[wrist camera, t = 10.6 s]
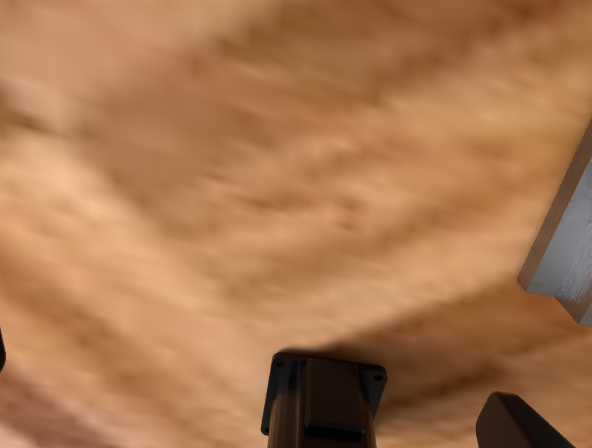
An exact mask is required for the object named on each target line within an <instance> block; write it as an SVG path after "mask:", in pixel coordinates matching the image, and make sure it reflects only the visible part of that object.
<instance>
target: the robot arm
mask: <svg viewBox="0 0 592 448" xmlns="http://www.w3.org/2000/svg"><path fill="white" fill-rule="evenodd" d="M5 361H6V352H5V347H4V342H3V338H2V333H1V329H0V372H1V371H2V369H3V367H4V364H5ZM278 361H283V362H278ZM376 375H379V376H376ZM386 381H387V373H386V370H385V369H384V368H383V367H381V366H375V365H368V364H361V363H354V362H347V361H340V360H333V359H326V358H319V357H312V356H305V355H298V354H290V353H283V352H278V353H276V354H274V355H273V357H272V363H271V369H270V375H269V381H268V387H267V393H266V399H265V405H264V411H263V418H262V424H261V432H262V433H263V434H264V435H267V436H269V438H268V447H267V448H377V446H376V439H375V432H374V425H373V420H374V417H375V414H376V411H377V408H378V405H379V402H380V399H381V396H382V393H383V390H384V387H385V384H386ZM476 436H477V441H478V446H479V448H576V447H574V446H573V445H572V444H571V443H570V442H569V441H568V440H567V439H566V438H565V437H563V436H562V435H561V434H560V433H559V432H558V431H557V430H556V429H555V428H553V427H552V426H551V425H550V424H549V423H548V422H547V421H546V420H545V419H544V418H542V417H541V416H540V415H539V414H538V413H537V412H536V411H535V410H534V409H533V408H531V407H530V406H529V405H528V404H527V403H526V402H525V401H524V400H523V399H521V398H520V397H519V396H518V395H516V394H513V393H506V392H499V391H495V392H492V393H491V394H490V395H489V397H488V399H487V401H486V403H485V405H484V407H483V409H482V411H481V413H480V415H479V417H478V419H477V422H476Z"/></svg>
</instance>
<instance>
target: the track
mask: <svg viewBox="0 0 592 448" xmlns="http://www.w3.org/2000/svg"><path fill="white" fill-rule="evenodd" d="M517 282H518V283H519V284H520V286H521V287H522V288H523V289H524V291H525V292H526V293H533V294H540V295H546V296H553V297H555V298H556V299H557V300H558V301H559V302H560V304H561V305H562V306H563V307H564V308H565V309H566V310H567V312H568V313H569V314H570V315H571V316H572V317H573V319H574V320H575V321H576V322H577V323H578V324H579V325H584V326H591V327H592V119H591V121H590V123H589V125H588V128H587V130H586V132H585V134H584V136H583V138H582V140H581V143H580V145H579V147H578V149H577V151H576V153H575V156H574V158H573V160H572V162H571V164H570V166H569V169H568V171H567V173H566V175H565V177H564V179H563V181H562V184H561V186H560V188H559V190H558V192H557V194H556V197H555V199H554V201H553V203H552V205H551V207H550V210H549V212H548V214H547V216H546V218H545V220H544V223H543V225H542V227H541V229H540V231H539V233H538V235H537V238H536V240H535V242H534V244H533V246H532V248H531V251H530V253H529V255H528V257H527V259H526V261H525V264H524V266H523V268H522V270H521V272H520V274H519V276H518V279H517Z"/></svg>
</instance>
